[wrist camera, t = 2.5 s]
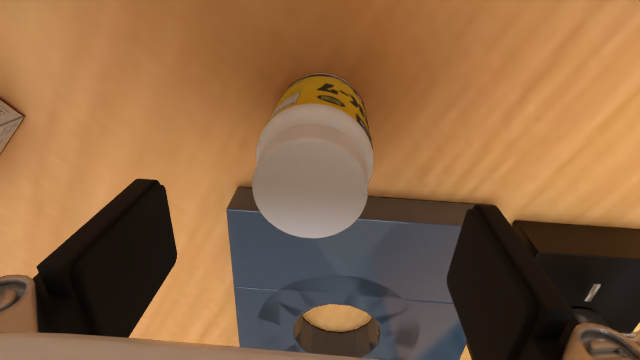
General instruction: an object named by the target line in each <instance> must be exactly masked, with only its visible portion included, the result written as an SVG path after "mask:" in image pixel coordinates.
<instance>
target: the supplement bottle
mask: <svg viewBox="0 0 640 360" xmlns="http://www.w3.org/2000/svg"><path fill="white" fill-rule="evenodd" d="M373 164H374V156H373V146H372V143H371V137H370V132H369V127H368V122H367V117H366V112H365V107H364V104H363V101H362V99H361V97H360V95H359V93H358V92H357V91H356V89H355V88H354V87H353V86H352V85H351V84H349V83H348V82H347V81H345V80H344V79H342V78H340V77H338V76H335V75H332V74H327V73H314V74H310V75H306V76H304V77H302V78H300V79H298V80H296V81H295V82H294V83H293V84H291V85H290V86H289V87H288V89H287V90H286V91H285V93H284V94H283V96H282V98H281V99H280V101H279V103H278V105H277V106H276V108H275V110H274V111H273V113H272V115H271V117H270V118H269V120H268V122H267V124H266V125H265V127H264V129H263V131H262V133H261V135H260V137H259V140H258V144H257V149H256V165H257V166H256V169H255V171H254V176H253V181H252V190H253V195H254V199H255V202H256V205H257V207H258V209H259V210H260V212H261V213H262V214H263V216H264V217H265V218H266V219H267V220H268V221H269V222H270V223H271V224H273V225H274V226H275V227H276V228H278V229H280V230H281V231H283V232H285V233H288V234H291V235H294V236H298V237H303V238H322V237H328V236H332V235H335V234H337V233H339V232H341V231H343V230H345V229H346V228H348V227H349V226H351V225H352V224H353V223H354V222H355V221H356V220H357V219H358V217H359V216H360V215H361V213H362V211H363V209H364V207H365V205H366V201H367V196H368V183H369V181H370V178H371V175H372V171H373Z"/></svg>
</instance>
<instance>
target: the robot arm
mask: <svg viewBox="0 0 640 360" xmlns="http://www.w3.org/2000/svg"><path fill="white" fill-rule="evenodd" d="M176 259H177V250H176V245H175V239H174V234H173V228H172V223H171V217H170V211H169V206H168V200H167V195H166V190H165V187H164V186H163V185H160V183H159V181H157V180H149V179H136V180H135V181H134V182H132V183H131V184H130V185H129V186H128V187H127V188H126V189H124V190H123V191H122V192H121V193H120V194H119V195H118V196H116V197H115V198H114V199H113V200H112V201H111V202H110V203H108V204H107V205H106V206H105V207H104V208H103V209H102V210H100V211H99V212H98V213H97V214H96V215H95V216H94V217H92V218H91V219H90V220H89V221H88V222H87V223H86V224H84V225H83V226H82V227H81V228H80V229H79V230H78V231H77V232H75V233H74V234H73V235H72V236H71V237H70V238H69V239H67V240H66V241H65V242H64V243H63V244H62V245H61V246H59V247H58V248H57V249H56V250H55V251H54V252H53V253H51V254H50V255H49V256H48V257H47V258H46V259H45V260H43V261H42V262H41V263H40V264H39V265H38V266H37V269H38V271H39V273H38V274H37V275H36V276H35V277H34V278H33V279H32V278H30V277H28V276H25V275H7V276H3V277H0V360H377V359H366V358H356V357H345V356H334V355H323V354H312V353H301V352H290V351H278V350H267V349H256V348H244V347H233V346H221V345H209V344H197V343H185V342H173V341H161V340H149V339H137V338H128V337H129V336H130V334H131V333H132V331H133V329H134V328H135V326H136V325H137V323H138V321H139V320H140V318H141V317H142V315H143V314H144V312H145V310H146V309H147V307H148V306H149V304H150V302H151V301H152V299H153V298H154V296H155V295H156V293H157V291H158V290H159V288H160V287H161V285H162V283H163V282H164V280H165V279H166V277H167V276H168V274H169V272H170V271H171V269H172V268H173V266H174V264H175V262H176ZM447 287H448V290H449V292H450V295H451V298H452V301H453V303H454V306H455V309H456V312H457V315H458V317H459V320H460V323H461V326H462V328H463V331H464V334H465V337H466V339H467V342H468V345H469V348H470V350H471V353H472V356H473V359H474V360H640V347H639V346H638V345H637V344H636V343H634V342H633V341H632V340H631V339H629V338H628V337H626V336H624V335H623V334H621V333H619V332H617V331H615V330H613V329H611V328H608V327H606V326H603V325H598V324H594V323H582V324H580V323H579V322H578V320H577V319H576V317H575V316H574V315H573V314H574V310H573V309H572V308H571V306H570V305H569V304H568V302H567V301H566V300H565V298H564V297H563V296H562V294H561V293H560V291H559V290H558V289H557V287H556V286H555V285H554V283H553V282H552V281H551V279H550V278H549V277H548V275H547V274H546V272H545V271H544V270H543V268H542V267H541V266H540V264H539V263H538V262H537V260H536V259H535V258H534V256H533V255H532V253H531V252H530V251H529V249H528V248H527V247H526V245H525V244H524V243H523V241H522V240H521V239H520V237H519V236H518V234H517V233H516V232H515V230H514V229H513V228H512V226H511V225H510V224H509V222H508V221H507V220H506V218H505V217H504V215H503V214H502V213H501V211H500V210H499V209H498V208H497V207H496V206H489V205H474V207H473V208H472V209H468V210H467V212H466V214H465V218H464V221H463V224H462V227H461V231H460V234H459V237H458V241H457V244H456V247H455V251H454V254H453V257H452V261H451V264H450V267H449V271H448V274H447Z"/></svg>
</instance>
